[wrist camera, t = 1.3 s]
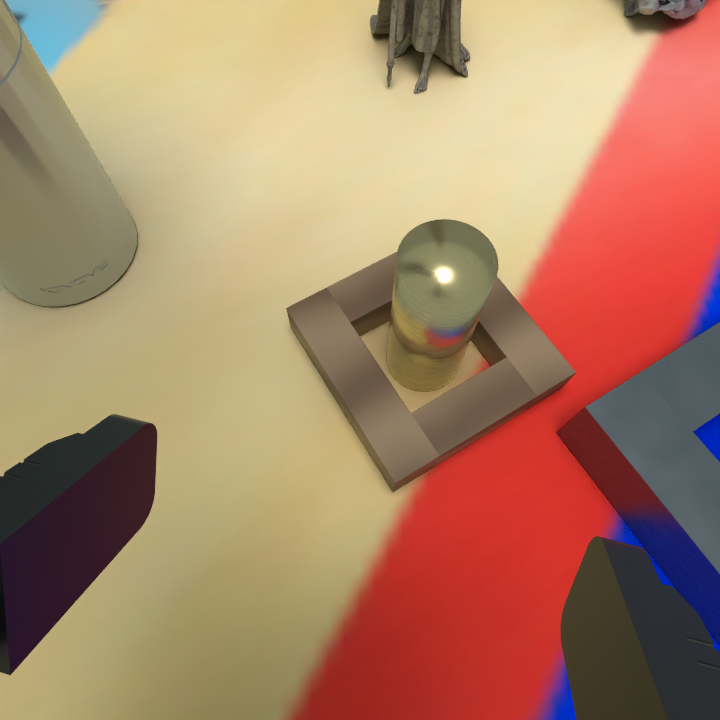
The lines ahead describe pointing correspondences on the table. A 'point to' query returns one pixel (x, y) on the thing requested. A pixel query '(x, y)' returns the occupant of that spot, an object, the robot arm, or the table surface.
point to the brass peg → (437, 301)
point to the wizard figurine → (422, 32)
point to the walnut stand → (444, 414)
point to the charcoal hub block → (663, 465)
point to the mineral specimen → (665, 7)
